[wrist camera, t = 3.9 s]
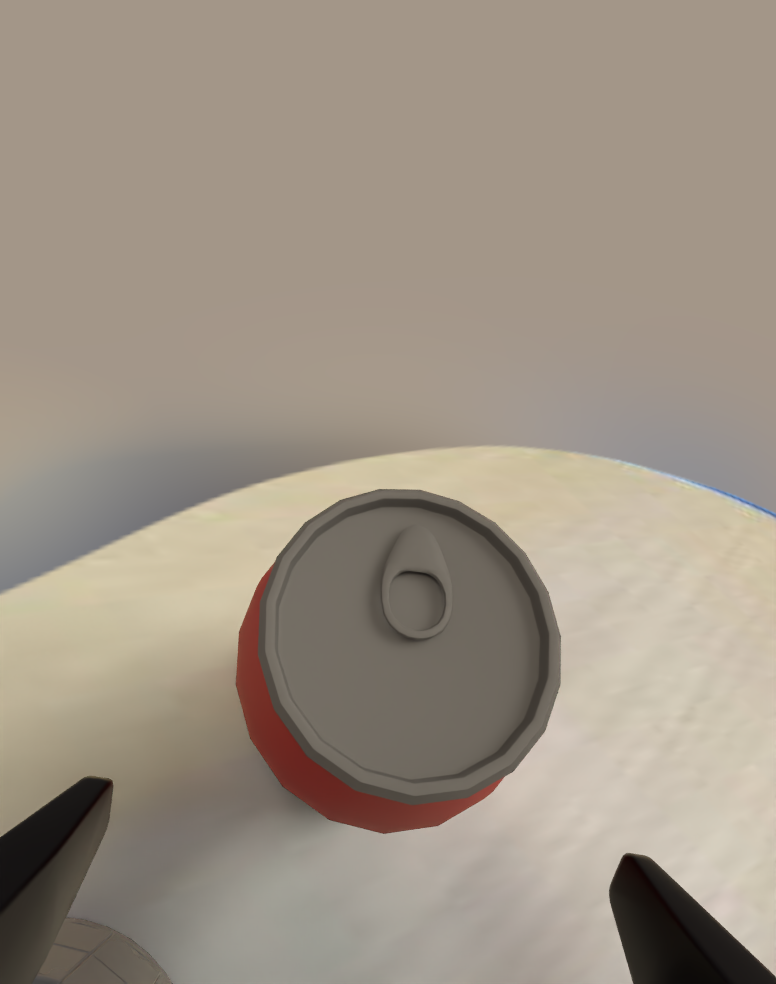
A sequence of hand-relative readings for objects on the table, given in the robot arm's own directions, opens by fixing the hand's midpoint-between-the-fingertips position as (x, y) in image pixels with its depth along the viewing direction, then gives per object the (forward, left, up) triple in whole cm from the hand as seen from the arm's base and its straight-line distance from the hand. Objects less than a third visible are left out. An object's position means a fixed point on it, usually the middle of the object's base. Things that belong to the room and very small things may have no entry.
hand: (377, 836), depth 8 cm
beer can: (+2, -2, -10) cm, 11 cm away
